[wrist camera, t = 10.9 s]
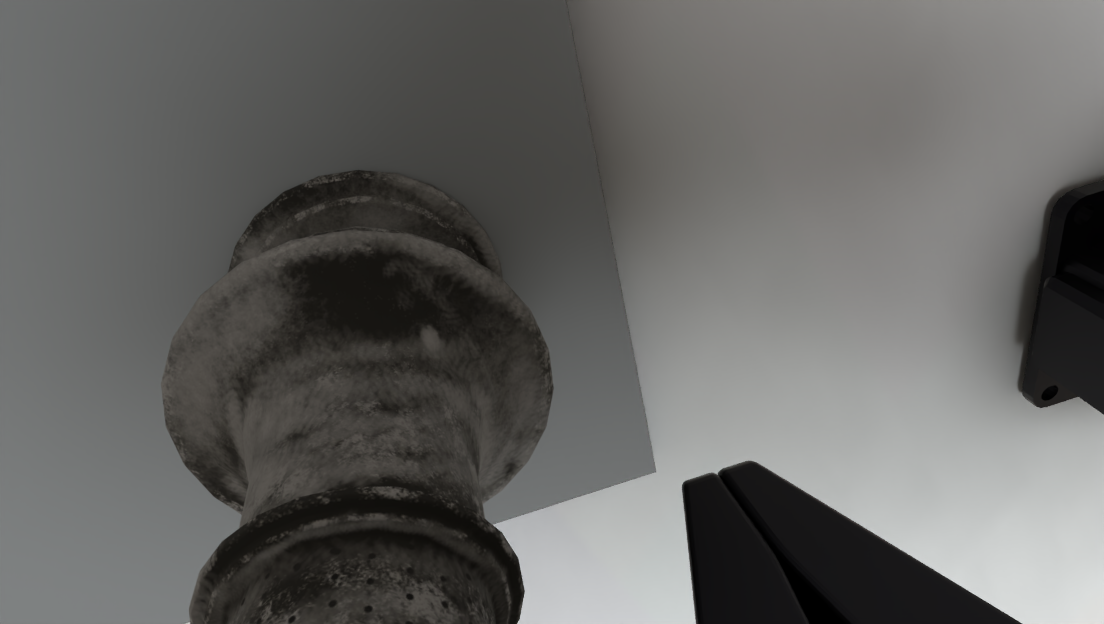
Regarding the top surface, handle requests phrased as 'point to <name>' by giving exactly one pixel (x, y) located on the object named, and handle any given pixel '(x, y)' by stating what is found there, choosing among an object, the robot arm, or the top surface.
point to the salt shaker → (359, 410)
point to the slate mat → (217, 225)
